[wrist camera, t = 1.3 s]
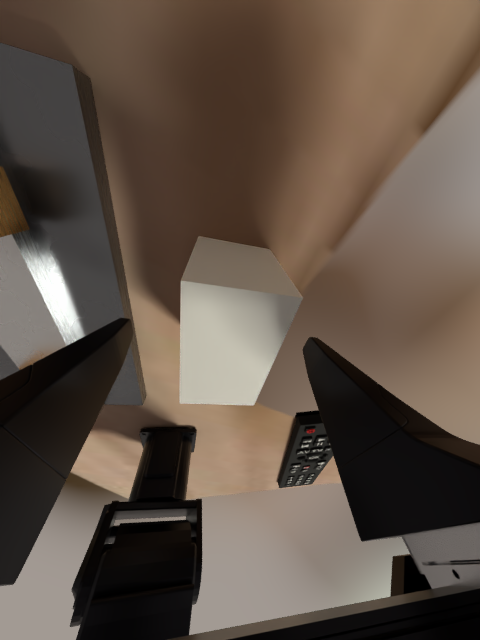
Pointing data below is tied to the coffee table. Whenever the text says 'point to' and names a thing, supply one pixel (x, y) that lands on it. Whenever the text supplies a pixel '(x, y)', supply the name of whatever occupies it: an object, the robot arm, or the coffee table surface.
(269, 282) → the plain light gray block
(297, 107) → the coffee table surface
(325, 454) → the remote control
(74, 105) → the rail mount
